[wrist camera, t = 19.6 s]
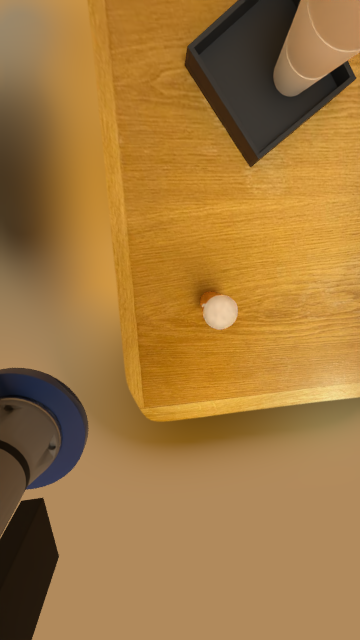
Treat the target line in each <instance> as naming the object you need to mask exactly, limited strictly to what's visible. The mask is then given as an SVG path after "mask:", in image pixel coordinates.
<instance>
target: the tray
mask: <svg viewBox="0 0 360 640" xmlns="http://www.w3.org/2000/svg"><path fill="white" fill-rule="evenodd" d="M300 1H301V0H238V1H237V2H236V3H235V4H234V5H232V6H231V7H230V8H229V9H228V10H227V11H226V12H225V13H224V14H223V15H221V16H220V17H219V18H218V19H217V20H216V21H215V22H214V23H213V24H212V25H210V26H209V27H208V28H207V29H206V30H205V31H204V32H203V33H202V34H201V35H199V36H198V37H197V38H196V39H195V40H194V41H193V42H192V43H191V44H189V45H188V47H187V53H186V61H185V66H186V68H187V69H188V71H189V72H190V74H191V75H192V77H193V79H194V80H195V82H196V83H197V85H198V86H199V88H200V89H201V91H202V93H203V94H204V96H205V97H206V99H207V100H208V102H209V103H210V105H211V107H212V108H213V110H214V111H215V113H216V114H217V116H218V117H219V119H220V121H221V122H222V124H223V125H224V127H225V128H226V130H227V131H228V133H229V134H230V136H231V138H232V139H233V141H234V142H235V144H236V145H237V147H238V148H239V150H240V152H241V153H242V155H243V156H244V158H245V159H246V161H247V162H248V164H249V166H250V167H252V166H253V165H254V164H255V163H256V162H258V161H259V160H260V159H261V158H262V157H264V156H265V155H266V154H267V153H268V152H270V151H271V150H272V149H273V148H274V147H276V146H277V145H278V144H279V143H280V142H282V141H283V140H284V139H285V138H286V137H288V136H289V135H290V134H291V133H292V132H294V131H295V130H296V129H297V128H298V127H300V126H301V125H302V124H303V123H304V122H306V121H307V120H308V119H309V118H310V117H312V116H313V115H314V114H315V113H316V112H318V111H319V110H320V109H321V108H322V107H324V106H325V105H326V104H327V103H328V102H330V101H331V100H332V99H333V98H334V97H336V96H337V95H338V94H339V93H340V92H341V91H343V90H344V89H345V88H346V87H347V86H348V85H349V84H351V83H352V82H353V81H354V80H355V79H356V77H355V75H354V73H353V71H352V69H351V67H350V65H349V63H348V61H346V62H345V63H343V64H342V65H340V66H339V67H337V68H336V69H334V70H333V71H331V72H330V73H328V74H327V75H326V76H324V77H323V78H321V79H320V80H318V81H317V82H316V83H314V84H313V85H311V86H310V87H308V88H307V89H305V90H304V91H303V92H301V93H300V94H298V95H296V96H292V97H288V96H285V95H283V94H281V93H280V92H279V91H278V90H277V88H276V86H275V83H274V78H273V74H274V68H275V66H276V63H277V60H278V58H279V55H280V53H281V50H282V48H283V45H284V42H285V40H286V37H287V35H288V32H289V30H290V27H291V25H292V22H293V19H294V17H295V14H296V11H297V9H298V6H299V4H300Z"/></svg>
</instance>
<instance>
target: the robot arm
mask: <svg viewBox="0 0 360 640" xmlns="http://www.w3.org/2000/svg"><path fill="white" fill-rule="evenodd" d="M62 438H63V437H62V429H61V425H60V423H59V421H58V419H57V417H56V416H55V415H54V413H53V412H52V411H51V410H50V409H49V408H48V407H46V406H45V405H44V404H42V403H40V402H39V401H36V400H34V399H32V398H29V397H25V396H19V395H6V396H1V397H0V536H1V534H2V533H3V531H4V529H5V527H6V525H7V523H8V521H9V519H10V518H11V516H12V514H13V512H14V510H15V508H16V506H17V504H18V502H19V501H20V499H21V497H22V495H23V493H24V492H25V490H26V488H27V486H28V485H30V484H31V483H32V482H33V481H34V480H35V479H36V478H37V477H38V476H40V475H41V474H42V473H43V472H44V471H45V470H46V469H47V468H48V467H49V466H50V465H51V464H52V462H53V461H54V460H55V458H56V456H57V454H58V452H59V450H60V448H61V445H62ZM58 558H59V555H58V551H57V547H56V544H55V540H54V536H53V532H52V529H51V525H50V521H49V517H48V514H47V510H46V506H45V503H44V499H43V498H38V499H31V500H24V501H21V503H20V505H19V506H18V508H17V510H16V512H15V513H14V515H13V517H12V519H11V521H10V522H9V524H8V526H7V528H6V530H5V531H4V533H3V535H2V537H1V539H0V640H32V637H33V634H34V631H35V628H36V625H37V622H38V619H39V616H40V613H41V609H42V606H43V603H44V600H45V597H46V594H47V591H48V588H49V585H50V582H51V579H52V576H53V573H54V570H55V567H56V564H57V561H58Z"/></svg>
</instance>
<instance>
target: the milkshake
mask: <svg viewBox="0 0 360 640" xmlns="http://www.w3.org/2000/svg"><path fill="white" fill-rule="evenodd" d="M200 306H201V309H202V312H203V316H204V319H205V321H206V323H207V324H208V325H209V326H211V327H212V328H215V329H219V330H222V329H225V328H227V327H229V326H231V325H232V324H233V323H234V322H235V320H236V318H237V315H238V308H237V304H236V302H235V301H234V300H233V299H232V298H230V297H228V296H226V295H221V294H218V293H215V292H212V291H211V292H205V293H204V294H203V295H202V296H201V298H200Z"/></svg>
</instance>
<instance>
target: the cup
mask: <svg viewBox="0 0 360 640" xmlns="http://www.w3.org/2000/svg"><path fill="white" fill-rule="evenodd" d="M359 52H360V0H301V1H300V4H299V6H298V9H297V11H296V14H295V17H294V19H293V22H292V25H291V27H290V30H289V32H288V35H287V37H286V40H285V42H284V45H283V48H282V50H281V53H280V55H279V58H278V60H277V63H276V66H275V68H274V74H273V78H274V83H275V86H276V88H277V90H278V91H279V92H280V93H281V94H283V95H285V96H288V97H292V96H296V95H298V94H300V93H301V92H303V91H304V90H305V89H307V88H308V87H310V86H311V85H313V84H314V83H316V82H317V81H318V80H320V79H321V78H323V77H324V76H326V75H327V74H328V73H330V72H331V71H333V70H334V69H336V68H337V67H339V66H340V65H342V64H343V63H345V62H346V61H348V60H349V59H350V58H352V57H353V56H355V55H356V54H358V53H359Z"/></svg>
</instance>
